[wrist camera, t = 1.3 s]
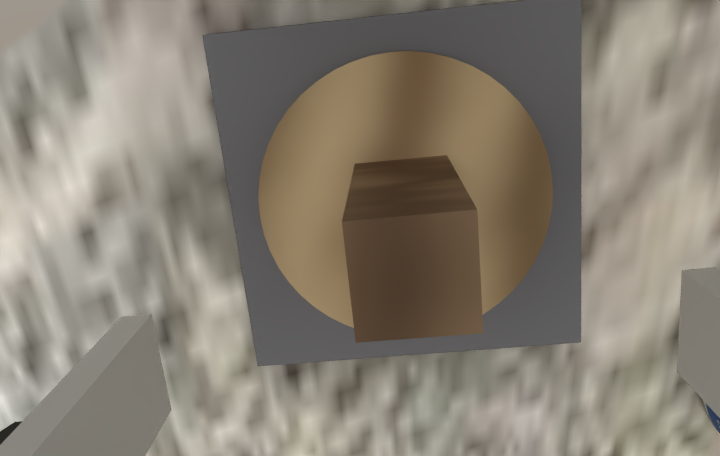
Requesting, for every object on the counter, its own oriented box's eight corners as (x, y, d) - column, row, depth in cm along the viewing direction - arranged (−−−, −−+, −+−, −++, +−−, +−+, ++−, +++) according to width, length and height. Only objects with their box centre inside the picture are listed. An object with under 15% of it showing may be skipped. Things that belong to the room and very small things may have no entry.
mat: (577, -6, 26) (581, -6, 26) (577, 337, 31) (580, 342, 30) (205, 35, 27) (202, 35, 27) (259, 361, 32) (257, 365, 31)
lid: (545, 35, 26) (639, 32, 17) (549, 316, 30) (627, 446, 20) (242, 67, 27) (165, 82, 17) (283, 336, 31) (238, 471, 21)
